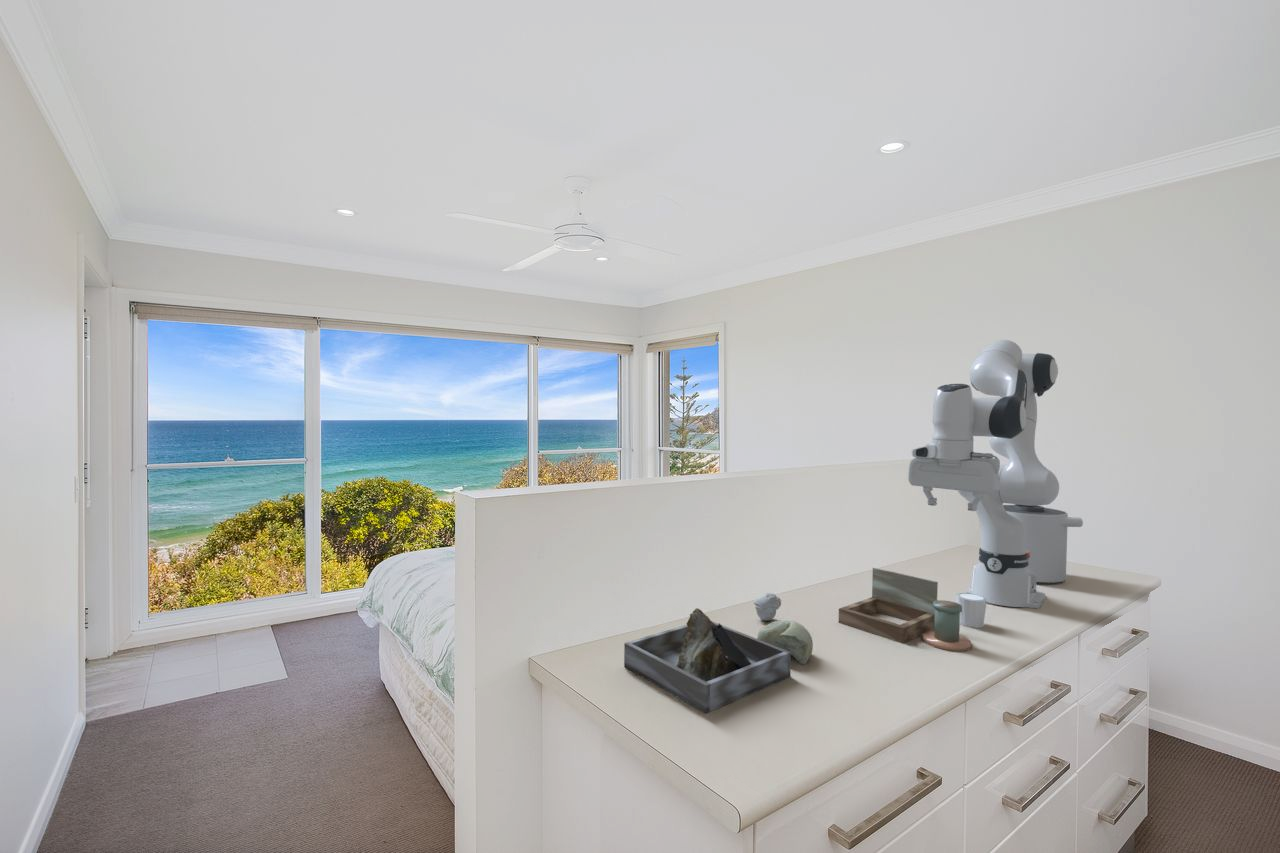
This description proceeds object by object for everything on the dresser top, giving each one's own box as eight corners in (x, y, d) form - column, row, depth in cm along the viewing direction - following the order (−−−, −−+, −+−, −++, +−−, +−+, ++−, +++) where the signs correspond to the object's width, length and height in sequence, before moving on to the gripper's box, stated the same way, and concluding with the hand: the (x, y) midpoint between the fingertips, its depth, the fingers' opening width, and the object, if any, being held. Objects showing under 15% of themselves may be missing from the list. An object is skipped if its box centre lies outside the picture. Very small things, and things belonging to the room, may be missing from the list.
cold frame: (874, 608, 161) (875, 567, 161) (937, 627, 148) (938, 581, 148) (838, 622, 151) (839, 577, 150) (903, 643, 137) (904, 594, 137)
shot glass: (990, 629, 147) (991, 601, 146) (960, 627, 148) (961, 599, 148) (980, 620, 153) (981, 593, 153) (951, 618, 155) (952, 591, 155)
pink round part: (934, 631, 145) (934, 627, 145) (978, 644, 137) (978, 639, 137) (914, 640, 139) (914, 636, 139) (959, 654, 131) (959, 650, 131)
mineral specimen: (771, 645, 125) (748, 620, 113) (750, 719, 119) (724, 701, 106) (713, 627, 133) (686, 602, 120) (691, 696, 126) (660, 677, 114)
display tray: (706, 640, 138) (706, 618, 138) (790, 676, 119) (790, 652, 119) (624, 666, 123) (624, 643, 123) (705, 713, 104) (706, 685, 104)
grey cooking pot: (1043, 568, 206) (1045, 502, 205) (1082, 586, 185) (1085, 512, 184) (978, 566, 208) (980, 500, 207) (1010, 583, 187) (1012, 510, 186)
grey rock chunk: (781, 625, 148) (781, 598, 148) (752, 623, 150) (753, 595, 149) (781, 617, 154) (781, 591, 154) (753, 615, 155) (754, 588, 155)
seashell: (750, 620, 131) (775, 604, 137) (749, 653, 132) (774, 636, 139) (801, 642, 122) (826, 624, 128) (800, 677, 123) (824, 657, 130)
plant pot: (939, 631, 142) (940, 598, 142) (965, 639, 137) (966, 604, 137) (927, 637, 138) (928, 603, 138) (954, 645, 134) (955, 609, 133)
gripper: (1005, 452, 136) (1004, 512, 137) (917, 447, 152) (917, 501, 153) (994, 454, 133) (993, 515, 133) (905, 449, 148) (905, 504, 149)
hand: (951, 507), depth 143 cm, fingers open, 8 cm apart
